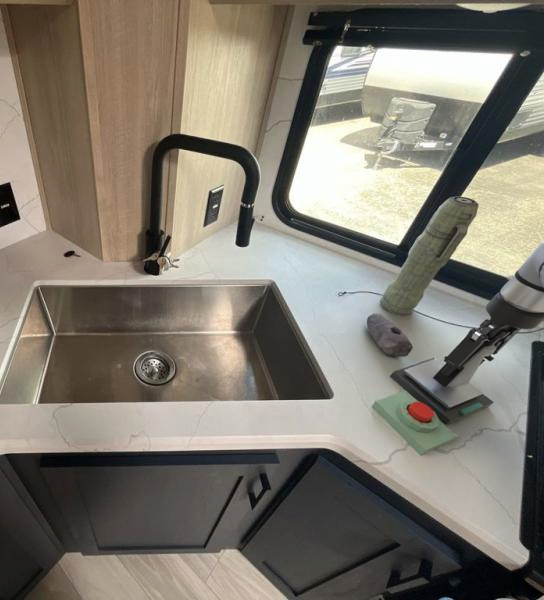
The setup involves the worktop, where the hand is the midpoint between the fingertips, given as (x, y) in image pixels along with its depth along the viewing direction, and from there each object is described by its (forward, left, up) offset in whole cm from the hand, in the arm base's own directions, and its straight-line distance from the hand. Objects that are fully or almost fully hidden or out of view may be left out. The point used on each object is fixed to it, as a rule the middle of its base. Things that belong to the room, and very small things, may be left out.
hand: (449, 378), depth 75 cm
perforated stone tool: (+17, -1, -5) cm, 18 cm away
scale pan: (0, 0, -3) cm, 3 cm away
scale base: (0, 0, -5) cm, 5 cm away
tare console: (-4, +14, -5) cm, 15 cm away
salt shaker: (0, 0, -1) cm, 1 cm away
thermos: (+27, -19, -5) cm, 33 cm away
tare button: (-4, +14, -2) cm, 15 cm away
